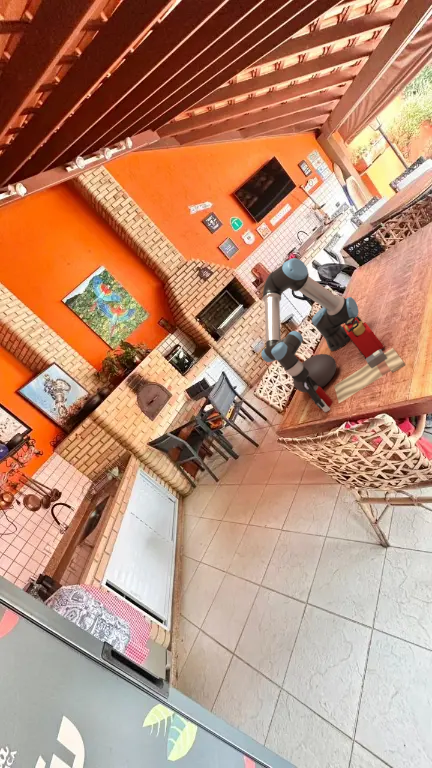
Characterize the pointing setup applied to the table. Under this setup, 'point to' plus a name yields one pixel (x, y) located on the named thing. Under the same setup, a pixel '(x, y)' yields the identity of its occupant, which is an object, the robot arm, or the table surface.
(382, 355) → the block
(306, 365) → the flattened ellipsoid
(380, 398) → the table surface
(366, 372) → the subfloor panel
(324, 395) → the beverage can
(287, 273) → the robot arm
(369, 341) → the red mechanical device
